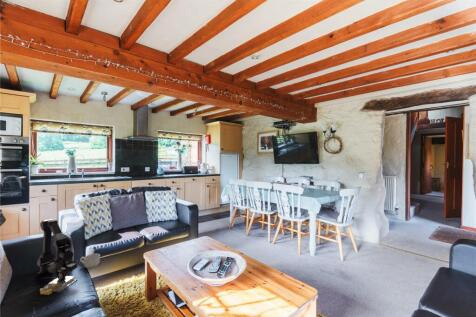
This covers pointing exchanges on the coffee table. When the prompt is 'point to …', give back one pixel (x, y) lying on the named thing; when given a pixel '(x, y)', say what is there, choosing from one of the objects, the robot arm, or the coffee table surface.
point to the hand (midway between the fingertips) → (61, 279)
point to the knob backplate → (57, 285)
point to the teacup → (91, 260)
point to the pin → (60, 275)
